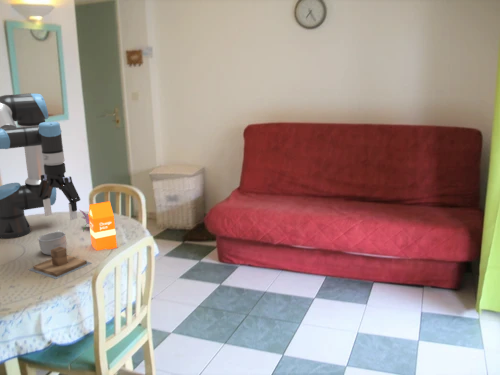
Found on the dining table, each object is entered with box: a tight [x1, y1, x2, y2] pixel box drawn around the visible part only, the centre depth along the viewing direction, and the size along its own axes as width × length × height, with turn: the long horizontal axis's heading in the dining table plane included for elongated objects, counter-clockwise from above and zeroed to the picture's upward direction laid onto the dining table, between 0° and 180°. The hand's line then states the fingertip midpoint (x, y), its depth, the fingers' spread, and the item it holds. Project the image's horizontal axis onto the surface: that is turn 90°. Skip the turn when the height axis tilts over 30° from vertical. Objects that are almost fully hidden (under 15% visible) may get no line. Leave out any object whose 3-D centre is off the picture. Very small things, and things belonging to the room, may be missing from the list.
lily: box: [79, 209, 90, 232], centre depth 240 cm, size 12×12×10 cm
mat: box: [27, 261, 93, 280], centre depth 197 cm, size 17×17×1 cm
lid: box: [32, 247, 88, 277], centre depth 196 cm, size 14×14×7 cm
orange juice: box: [88, 200, 118, 251], centre depth 215 cm, size 8×9×20 cm
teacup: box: [37, 230, 68, 256], centre depth 213 cm, size 14×11×8 cm
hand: (60, 217), depth 195 cm, fingers open, 13 cm apart
